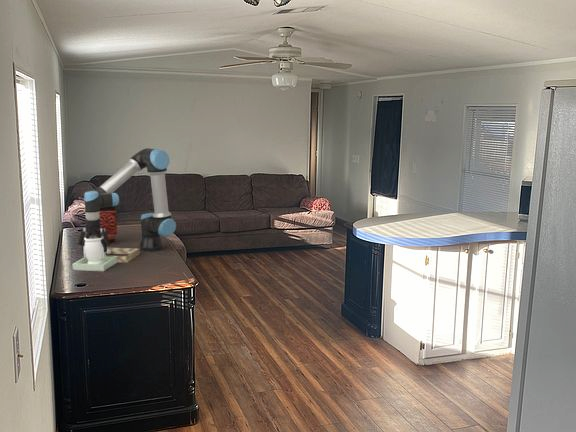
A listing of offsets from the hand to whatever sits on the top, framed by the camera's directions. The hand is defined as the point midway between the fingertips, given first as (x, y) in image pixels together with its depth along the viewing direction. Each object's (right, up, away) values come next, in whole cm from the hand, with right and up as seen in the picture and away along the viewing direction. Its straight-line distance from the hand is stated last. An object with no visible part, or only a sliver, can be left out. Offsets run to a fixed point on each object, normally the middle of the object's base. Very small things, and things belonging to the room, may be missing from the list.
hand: (94, 257), depth 325 cm
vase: (-12, +5, +58) cm, 59 cm away
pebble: (-1, 0, +28) cm, 28 cm away
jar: (0, -3, +1) cm, 4 cm away
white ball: (+15, -1, +26) cm, 30 cm away
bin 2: (+6, -2, +20) cm, 21 cm away
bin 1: (0, -5, +1) cm, 5 cm away
